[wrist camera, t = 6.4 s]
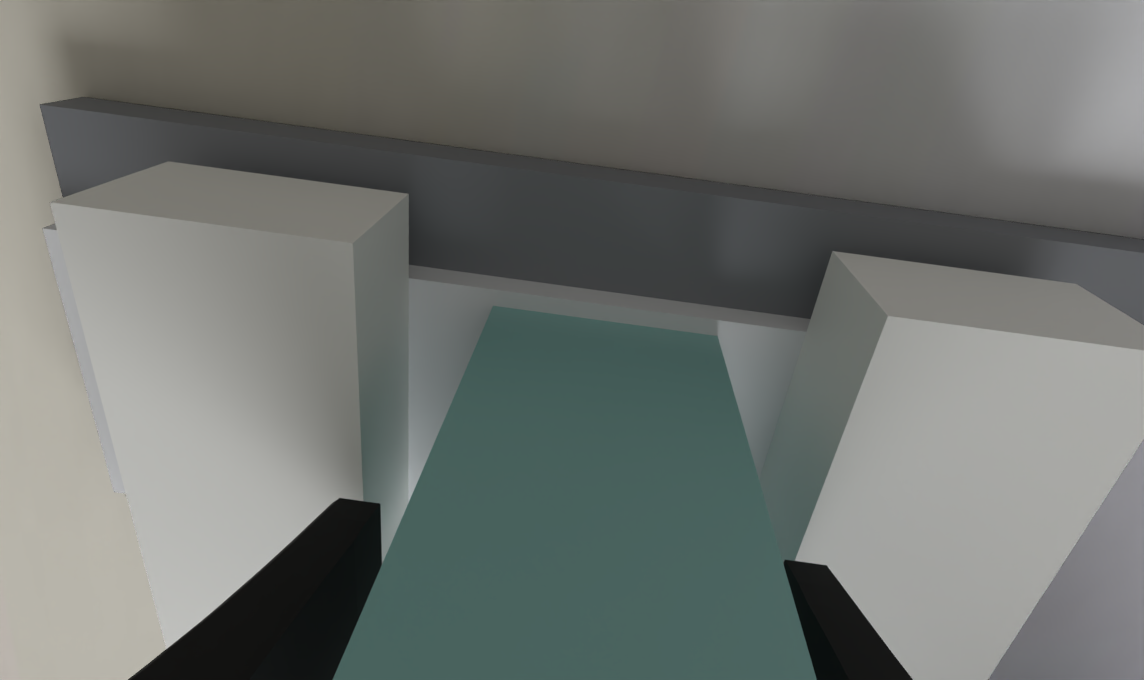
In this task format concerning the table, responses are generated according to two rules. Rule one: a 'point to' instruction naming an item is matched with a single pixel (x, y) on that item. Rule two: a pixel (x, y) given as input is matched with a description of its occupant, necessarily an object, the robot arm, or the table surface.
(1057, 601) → the table surface
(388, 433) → the rail board
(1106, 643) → the table surface
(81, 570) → the table surface
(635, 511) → the block
